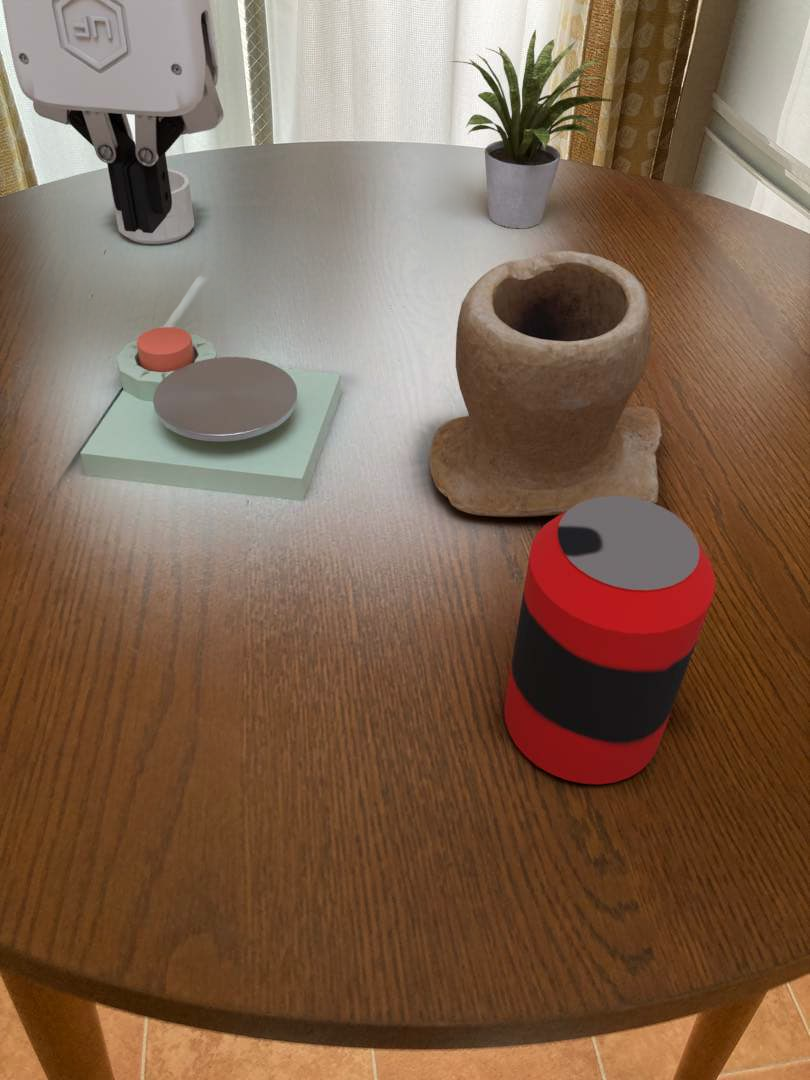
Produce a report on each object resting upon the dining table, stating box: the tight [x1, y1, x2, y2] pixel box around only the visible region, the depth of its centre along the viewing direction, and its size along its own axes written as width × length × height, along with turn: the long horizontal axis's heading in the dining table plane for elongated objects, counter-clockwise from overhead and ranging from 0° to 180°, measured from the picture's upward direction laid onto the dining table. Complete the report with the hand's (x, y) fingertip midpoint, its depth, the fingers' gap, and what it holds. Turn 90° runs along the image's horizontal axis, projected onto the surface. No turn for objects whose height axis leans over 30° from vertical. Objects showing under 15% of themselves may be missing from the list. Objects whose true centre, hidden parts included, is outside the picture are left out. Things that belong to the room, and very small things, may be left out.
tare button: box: [137, 326, 194, 372], centre depth 62 cm, size 4×4×2 cm
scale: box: [80, 332, 342, 502], centre depth 61 cm, size 15×13×4 cm
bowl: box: [110, 168, 195, 245], centre depth 84 cm, size 7×7×4 cm
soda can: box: [503, 496, 716, 785], centre depth 41 cm, size 8×8×12 cm
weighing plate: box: [153, 356, 297, 441], centre depth 58 cm, size 9×9×1 cm
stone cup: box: [428, 250, 663, 518], centre depth 53 cm, size 15×12×15 cm
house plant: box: [448, 27, 618, 229], centre depth 84 cm, size 14×14×16 cm
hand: (147, 222), depth 56 cm, fingers closed
